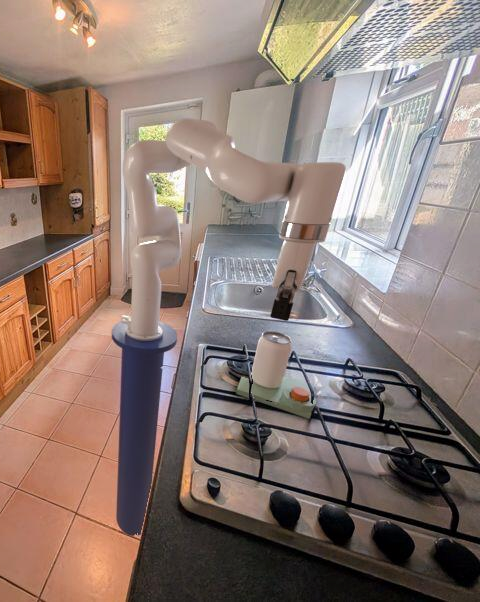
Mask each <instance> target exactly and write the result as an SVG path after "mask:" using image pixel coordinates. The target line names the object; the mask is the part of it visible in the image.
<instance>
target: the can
mask: <svg viewBox="0 0 480 602" xmlns="http://www.w3.org/2000/svg"><path fill="white" fill-rule="evenodd" d="M292 347H293V345H292V339H291V337H290V336H289V335H287V334H284V333H282V332H278V331H271V330H269V331H264V332H263V333H262V334H261V336H260V337H259V339H258V341H257V346H256V350H255V355H254V359H253V363H252V372H251V375H252V379H253V381H254V382H255V383H256V384H257V385H259V386H262V387H264V388H269V389H275V388H278V387H280V386H281V385H282V381H283V378H284V376H285V374H286V371H287V368H288V364H289V359H290V356H291V352H292Z"/></svg>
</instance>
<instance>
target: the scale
mask: <svg viewBox="0 0 480 602" xmlns="http://www.w3.org/2000/svg"><path fill="white" fill-rule="evenodd" d="M306 382H307V381H304V380H301V379H297V378H293V377H290V376H287V375H284V378H283V381H282V385H281V386H280V387H278V388H275V389H269V388H264V387H262V386H259V385H257V384H256V383H255V382H254V381H253V384H252V394H253V395H254V399H255V400H254V401H255V402H259V403H262V404H264V405H267V406H271V407H273V408H275V409H276V408H277V409H279V410H281V411H285V412H288V413H291V414H294V415H297V416H299V417H303V418H305V419H308V420H310V419H311V416H312V412H313V411H314V410H313V408H314V407H315V408H316V406H317V399H316V397H314V400H313V404H312V403H311V394H310V390H309V388H308V385H307V383H306ZM311 385H312V386H313V383H311ZM294 387H301V388H303V389H305V390H307V391H308V392H309V397H308V400H307V402H300V401H297V400H295V399H293V398H292V397H291V392H292V389H293V388H294ZM235 394H236V395H238V396H241V397H245V398H247V399H250V398H249V379H248V378H245V377H242V376H241V378H240V380H239V382H238V385H237V389H236V392H235ZM266 400H269V401H272V402H273V403H272V402H269V401H266ZM275 403H276V404H275ZM312 410H313V411H312Z"/></svg>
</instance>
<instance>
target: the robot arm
mask: <svg viewBox="0 0 480 602" xmlns="http://www.w3.org/2000/svg"><path fill="white" fill-rule="evenodd" d="M165 135H166V136H165V140H158V139H144V140H139V141H136V142H134V143H132V144H131V145H130V146H129V147H128V149H127V151H126V152H125V154H124V157H123V161H122V177H123V182H124V185H125V188H126V193H127V200H128V211H129V218H130V226H131V231H132V234H133V235H134V236H135V237H136V238H139V239H148V238H153V237H155V240H153V241H147V242H143V243H140V244H137V245H136V246H134V247H133V249H132V250H131V252H130V254H129V255H130V256H129V262H130V269H131V279H132V280H131V303H130V304H131V305H130V306H131V307H130V316H127V315H124V314H122V315H121V317H120V318H121V319H120V322H121V323H124V324H127V325H128V326H127V327H126V333H127V335H128V336H130V337H131V338H133V339H136V340H141V341H152V340H156V339H159V338H160V337H161V336H162V333H163V331H162V329H161V328H160V327H159V326H158V325H159V321H160V312H161V301H162V280H161V278H160V276H159V271H162V270H166V269H170V268H172V267H173V268H174V267H175V266H177V265H178V264H179V262H180V260H181V257H182V238H181V228H180V219H179V216H178V213H177V212H176V209H174V207H172V206H170V205H168V204H159V203H158V198H157V190H156V186H155V185H154V183H153V180H152V179H151V178H150V176H149V175H150V174H170V173H174V172H177V171H179V170H182V169H184V168H186V167H188V166H190V165H192V166H193V167H196V168H197V169H199V170H201V171H202V172H204V173H206V174H207V176H208V178H209V179H210V180H211V182H212V183H213V184H214V185H215V186H216V187H217V188H219V189H220V190H222V191H223V192H225V193H227V194H228V195H231V196H232V197H234V198H236V199H238V200H240V201H242V202H245V203H248V204H254V205H255V204H256V205H257V204H264V203H276V202H285V201H287V203H286V207H285V211H284V215H283V219H282V223H281V227H280V231H279V235H278V238H279V239H281V240H283V243H282V245H281V248H280V252H279V256H278V259H277V264H276V267H275V272H274V275H273V280H272V283H271V288H273V289H275V288H278V289H277V293H276V297H275V298H274V301H273V304H272V307H271V311H270V318H272V319H276V320H281V321H285V322H289V319H290V316H291V313H292V309H293V306H294V303H295V302H294V297H295V294H296V292H299V291H301V288H302V286H303V284H304V280H305V278H306V276H307V273H308V270H309V267H310V264H311V261H312V258H313V255H314V252H315V249H316V246H317V244H319V243H324V242H325V241H326V239H327V235H328V232H329V228H330V225H331V222H332V218H333V216H334V212H335V209H336V206H337V203H338V200H339V197H340V193H341V190H342V187H343V183H344V180H345V177H346V174H347V167H346V165H345V164H344V163H342V162H337V161H336V162H334V161H333V162H332V161H328V162H327V161H326V162H321V161H320V162H307V163H302V164H301V163H300V164H299V163H292V162H280V161H279V162H276V161H275V162H274V161H273V162H271V161H267V162H265V161H262V160H259V159H256V158H254V157H252V156H250V155H247V154H245V153H244V152H241V151H239V150H238V149H236V142H235V138H233V136H231V135H229V134H227V133H225V132H222V131H220V130H219V128H218V127H217V125H216V124H215V123H214V122H212V121H209V120H204V119H198V118H181V119H178V120H176V121H175V122H173V123H172V124H171V125H170V126H169V128H168V129H167V132H166V134H165Z"/></svg>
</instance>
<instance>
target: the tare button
mask: <svg viewBox="0 0 480 602" xmlns="http://www.w3.org/2000/svg"><path fill="white" fill-rule="evenodd" d="M291 397H292V398H293V399H295V400H297V401H300V402H307V400H308V397H309V392H308V391H307V390H305V389H303V388H301V387H294V388H293V389H292V392H291Z"/></svg>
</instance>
